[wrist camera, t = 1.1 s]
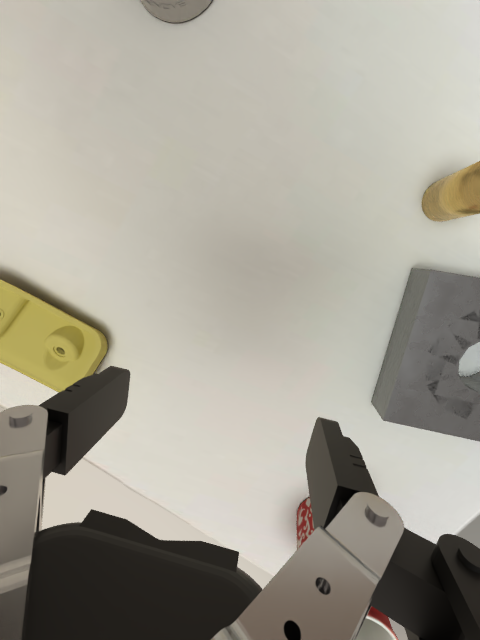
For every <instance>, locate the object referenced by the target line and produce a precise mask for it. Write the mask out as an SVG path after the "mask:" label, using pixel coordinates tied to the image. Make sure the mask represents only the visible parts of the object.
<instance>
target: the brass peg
mask: <svg viewBox="0 0 480 640" xmlns="http://www.w3.org/2000/svg"><path fill="white" fill-rule="evenodd" d="M422 209H423V212H424V214H425V215H426V216H427V217H428V218H429V219H431V220H433V221H439V222H441V221H447V220H452V219H456V218H461V217H465V216H470V215H474V214H479V213H480V161H479V162H477V163H475V164H473V165H470V166H468V167H466V168H464V169H462V170H460V171H458V172H456V173H454V174H452V175H450V176H447V177H445V178H443V179H441V180H439V181H437V182H435V183H433V184H432V185H431V186H430V187H429V188H428V189H427V190H426V192H425V193H424V195H423V198H422Z"/></svg>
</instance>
